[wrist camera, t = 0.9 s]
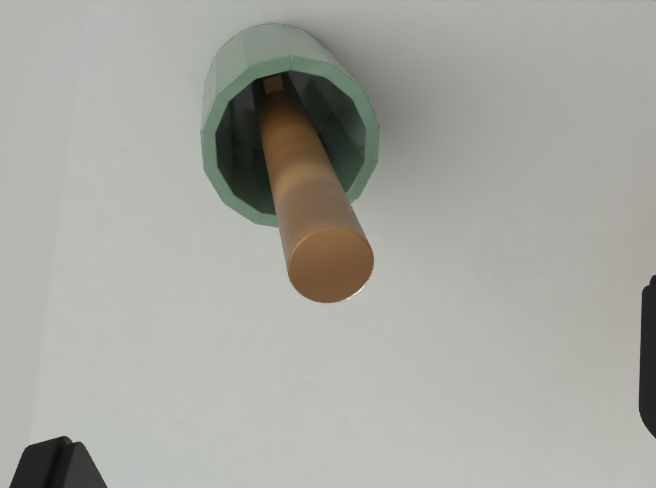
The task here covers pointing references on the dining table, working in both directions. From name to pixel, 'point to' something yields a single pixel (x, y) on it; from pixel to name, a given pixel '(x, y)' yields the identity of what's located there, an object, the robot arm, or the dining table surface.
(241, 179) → the crock
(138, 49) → the dining table surface
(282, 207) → the wooden dowel rod
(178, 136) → the dining table surface
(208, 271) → the dining table surface
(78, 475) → the robot arm
